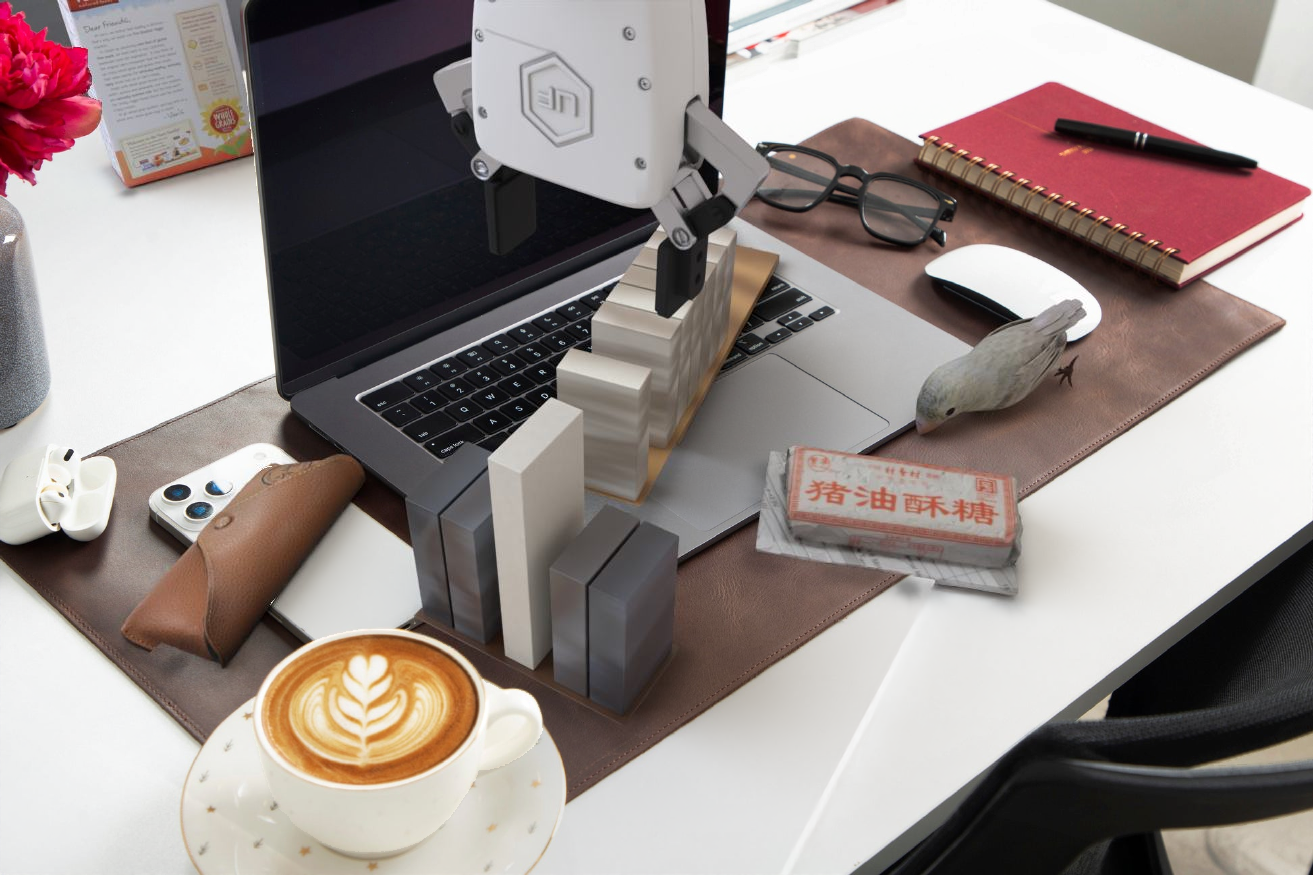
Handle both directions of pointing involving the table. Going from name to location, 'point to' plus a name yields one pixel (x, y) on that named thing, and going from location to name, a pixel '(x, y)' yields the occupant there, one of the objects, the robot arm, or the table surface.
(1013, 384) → the decorative bird
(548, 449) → the cream book
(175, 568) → the sunglasses case
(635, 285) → the cream book rack
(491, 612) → the grey book rack
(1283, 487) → the table surface
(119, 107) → the cracker box
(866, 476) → the packaged product
